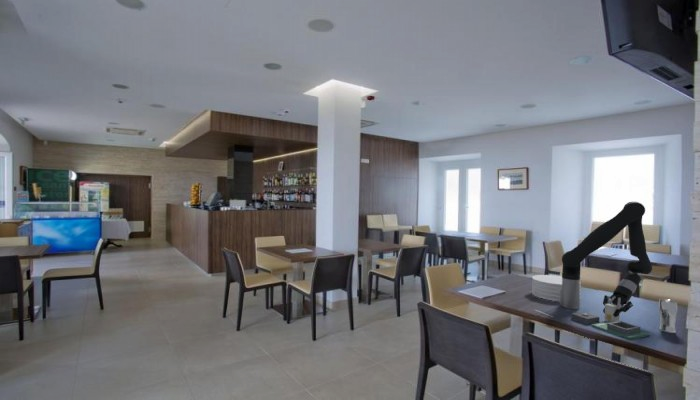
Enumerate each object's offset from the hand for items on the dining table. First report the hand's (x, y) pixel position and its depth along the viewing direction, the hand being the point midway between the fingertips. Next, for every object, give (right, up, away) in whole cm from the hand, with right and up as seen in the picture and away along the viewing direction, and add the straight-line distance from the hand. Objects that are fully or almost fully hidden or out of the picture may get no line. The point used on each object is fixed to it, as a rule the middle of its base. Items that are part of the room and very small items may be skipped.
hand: (609, 314), depth 189 cm
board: (-4, -4, -12) cm, 13 cm away
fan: (-12, -4, +2) cm, 12 cm away
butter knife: (-25, -4, +8) cm, 26 cm away
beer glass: (+20, -5, -12) cm, 24 cm away
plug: (+2, -4, +1) cm, 5 cm away
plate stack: (0, -4, +49) cm, 49 cm away
